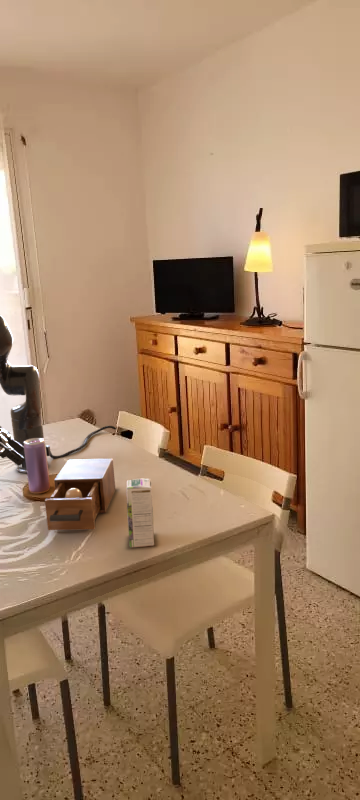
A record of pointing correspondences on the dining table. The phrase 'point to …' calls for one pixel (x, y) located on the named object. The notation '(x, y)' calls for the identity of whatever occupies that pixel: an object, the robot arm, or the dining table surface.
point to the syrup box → (140, 512)
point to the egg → (73, 493)
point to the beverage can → (36, 465)
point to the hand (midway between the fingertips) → (21, 456)
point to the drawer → (73, 506)
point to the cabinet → (91, 476)
